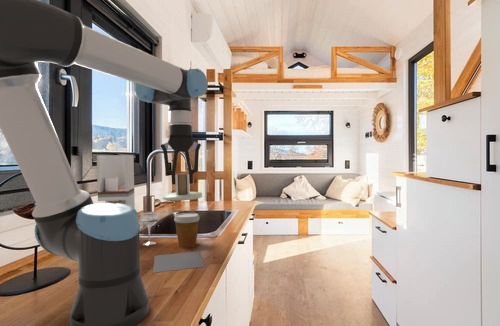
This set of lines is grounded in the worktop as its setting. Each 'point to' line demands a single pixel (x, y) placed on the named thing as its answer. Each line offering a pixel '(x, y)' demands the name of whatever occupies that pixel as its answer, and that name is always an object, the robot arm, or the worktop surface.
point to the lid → (182, 191)
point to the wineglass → (148, 222)
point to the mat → (177, 261)
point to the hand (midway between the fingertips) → (182, 193)
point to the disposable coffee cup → (187, 229)
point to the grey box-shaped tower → (116, 179)
